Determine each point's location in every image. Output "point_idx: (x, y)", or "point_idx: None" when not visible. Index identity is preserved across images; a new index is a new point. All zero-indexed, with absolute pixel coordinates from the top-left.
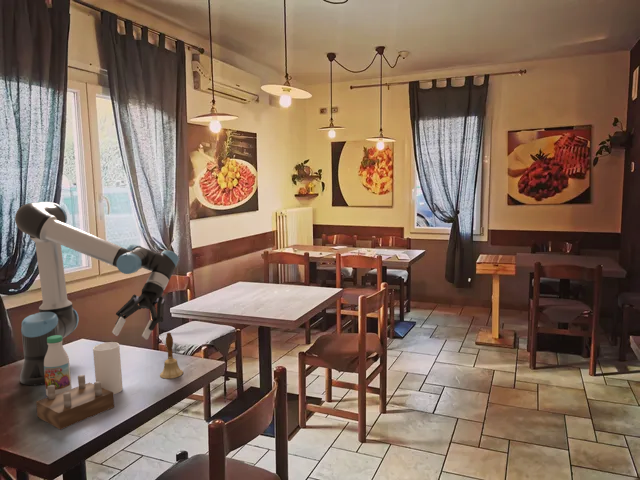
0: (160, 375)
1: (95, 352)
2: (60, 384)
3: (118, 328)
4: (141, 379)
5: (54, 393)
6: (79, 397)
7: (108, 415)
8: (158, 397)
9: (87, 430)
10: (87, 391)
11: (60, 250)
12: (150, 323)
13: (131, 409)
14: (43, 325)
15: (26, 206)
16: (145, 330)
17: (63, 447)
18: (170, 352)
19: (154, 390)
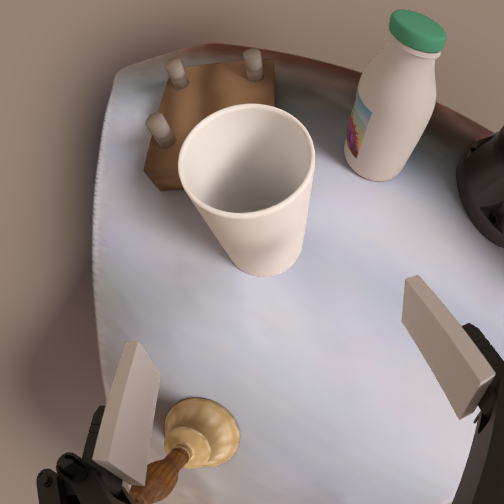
0: (217, 405)
1: (245, 112)
2: (348, 126)
3: (424, 330)
4: (256, 355)
5: (246, 69)
6: (199, 109)
7: (141, 165)
8: (105, 289)
9: (133, 119)
10: None
11: None
12: (104, 438)
13: (116, 209)
14: None
15: None
16: (119, 375)
17: (128, 85)
18: (165, 457)
19: (146, 316)
